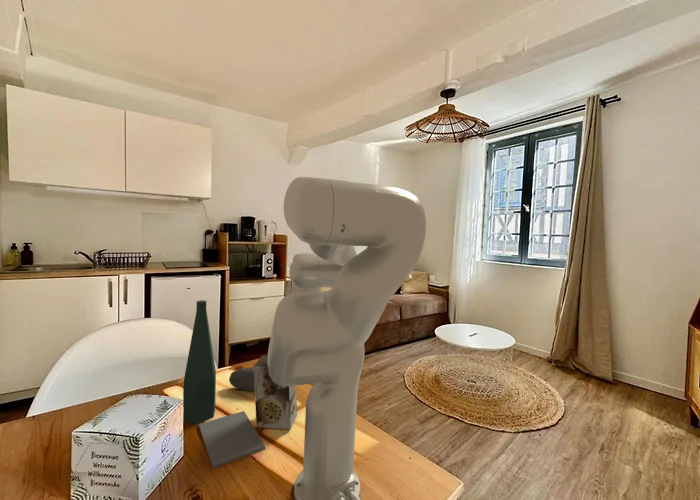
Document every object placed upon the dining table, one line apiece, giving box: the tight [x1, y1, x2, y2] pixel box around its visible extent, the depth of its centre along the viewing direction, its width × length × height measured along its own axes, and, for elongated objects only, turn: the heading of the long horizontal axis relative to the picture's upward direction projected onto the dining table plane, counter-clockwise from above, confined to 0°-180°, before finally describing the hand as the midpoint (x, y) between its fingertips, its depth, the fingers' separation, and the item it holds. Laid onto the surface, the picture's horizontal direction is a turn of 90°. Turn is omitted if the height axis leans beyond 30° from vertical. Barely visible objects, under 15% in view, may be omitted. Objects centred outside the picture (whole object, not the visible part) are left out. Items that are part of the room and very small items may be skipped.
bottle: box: [182, 300, 217, 425], centre depth 81 cm, size 8×8×30 cm
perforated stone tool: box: [228, 366, 255, 392], centre depth 96 cm, size 15×5×7 cm, turn 86°
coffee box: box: [253, 354, 298, 430], centre depth 80 cm, size 9×6×16 cm
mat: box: [198, 410, 267, 469], centre depth 74 cm, size 16×11×1 cm
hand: (302, 367), depth 84 cm, fingers closed
